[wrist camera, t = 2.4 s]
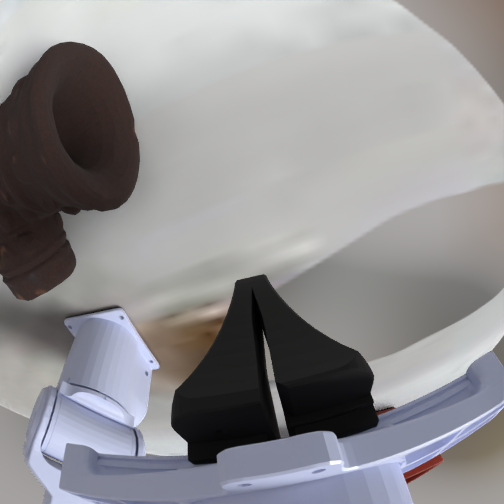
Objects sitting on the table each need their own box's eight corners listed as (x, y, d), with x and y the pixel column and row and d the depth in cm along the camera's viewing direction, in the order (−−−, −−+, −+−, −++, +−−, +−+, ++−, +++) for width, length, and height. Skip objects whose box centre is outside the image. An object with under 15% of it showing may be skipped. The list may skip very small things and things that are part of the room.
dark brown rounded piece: (-5, 318, 16) (120, 308, 13) (-72, 156, 9) (25, 31, 6) (52, 259, 24) (174, 227, 22) (3, 127, 18) (118, 46, 15)
